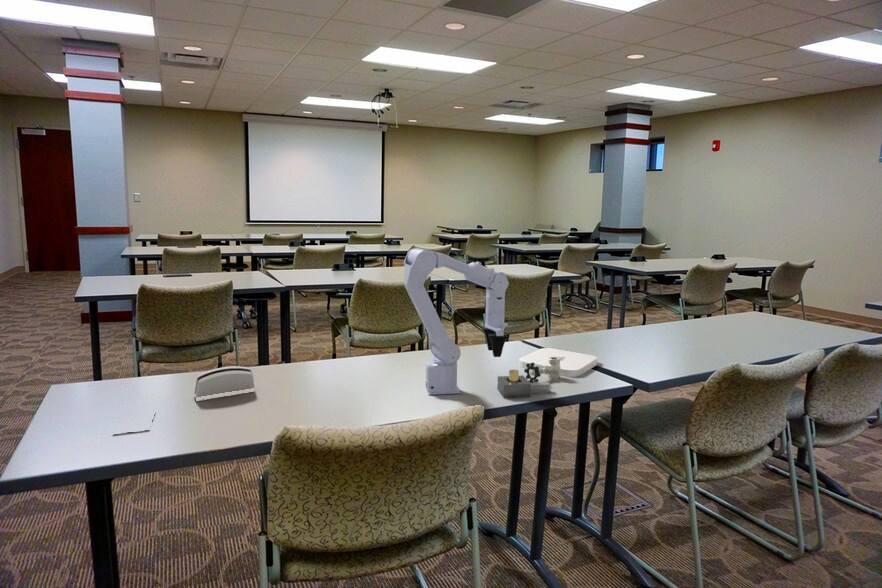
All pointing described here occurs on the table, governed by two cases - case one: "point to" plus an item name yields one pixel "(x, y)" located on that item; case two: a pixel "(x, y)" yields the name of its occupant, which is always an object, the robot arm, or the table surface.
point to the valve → (544, 370)
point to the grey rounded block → (224, 380)
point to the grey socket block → (520, 387)
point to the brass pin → (513, 375)
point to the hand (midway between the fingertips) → (494, 353)
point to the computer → (561, 361)
